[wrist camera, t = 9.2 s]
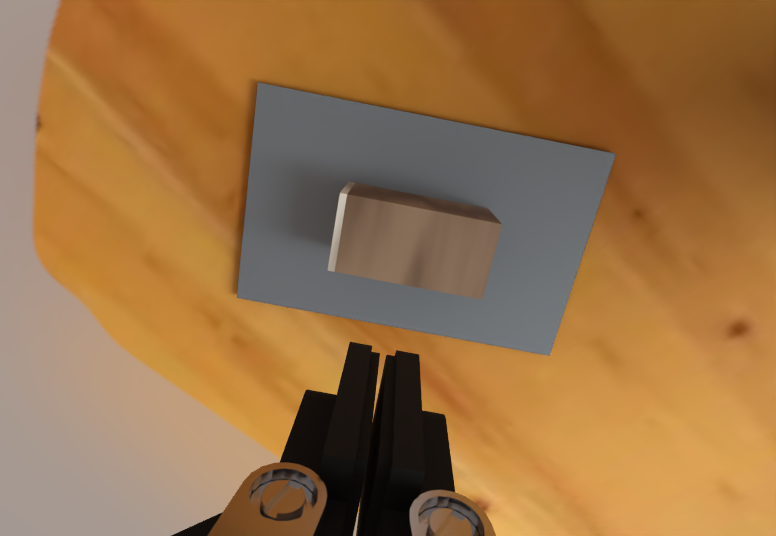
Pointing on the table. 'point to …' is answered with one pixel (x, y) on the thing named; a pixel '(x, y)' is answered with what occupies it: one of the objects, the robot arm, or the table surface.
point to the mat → (426, 178)
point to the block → (413, 240)
